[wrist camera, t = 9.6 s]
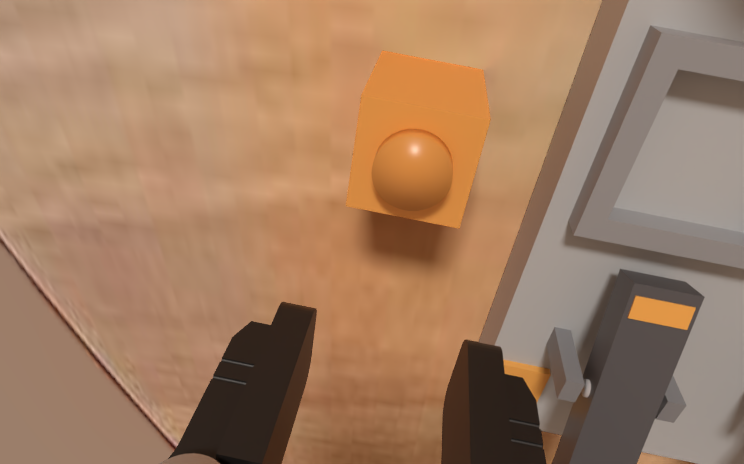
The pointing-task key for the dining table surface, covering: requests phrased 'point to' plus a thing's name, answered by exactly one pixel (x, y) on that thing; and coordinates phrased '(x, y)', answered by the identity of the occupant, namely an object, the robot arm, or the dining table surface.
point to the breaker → (629, 369)
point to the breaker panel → (640, 218)
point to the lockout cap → (418, 139)
